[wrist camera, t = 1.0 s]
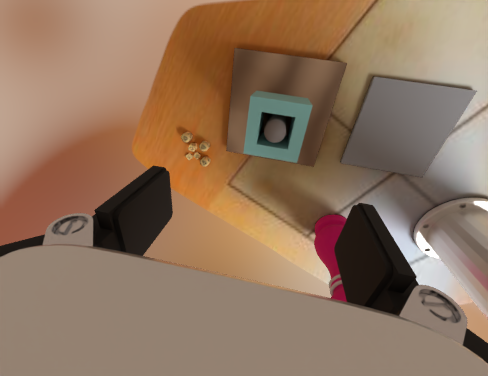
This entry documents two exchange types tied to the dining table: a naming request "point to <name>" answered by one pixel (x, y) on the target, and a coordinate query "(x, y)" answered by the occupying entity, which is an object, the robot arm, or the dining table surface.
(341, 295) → the pepper mill
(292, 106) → the collar
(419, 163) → the mat
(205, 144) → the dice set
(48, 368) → the robot arm
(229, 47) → the dining table surface
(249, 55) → the stand
